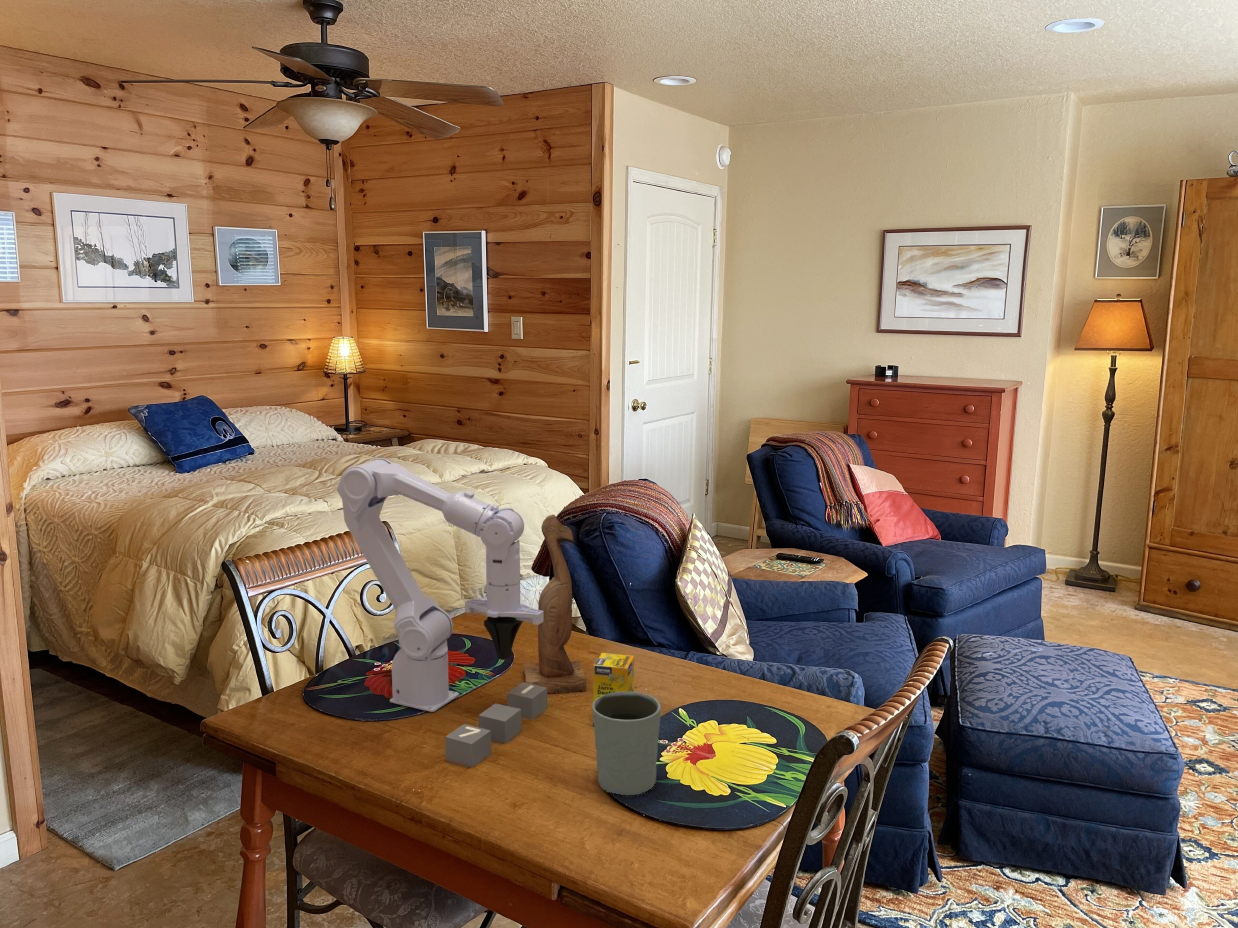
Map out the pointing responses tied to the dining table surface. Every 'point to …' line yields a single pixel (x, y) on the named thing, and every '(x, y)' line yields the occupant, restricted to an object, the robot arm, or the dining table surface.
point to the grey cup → (626, 741)
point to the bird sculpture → (556, 621)
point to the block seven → (468, 745)
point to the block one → (528, 699)
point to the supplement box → (612, 674)
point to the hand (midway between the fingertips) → (504, 657)
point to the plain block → (501, 722)
